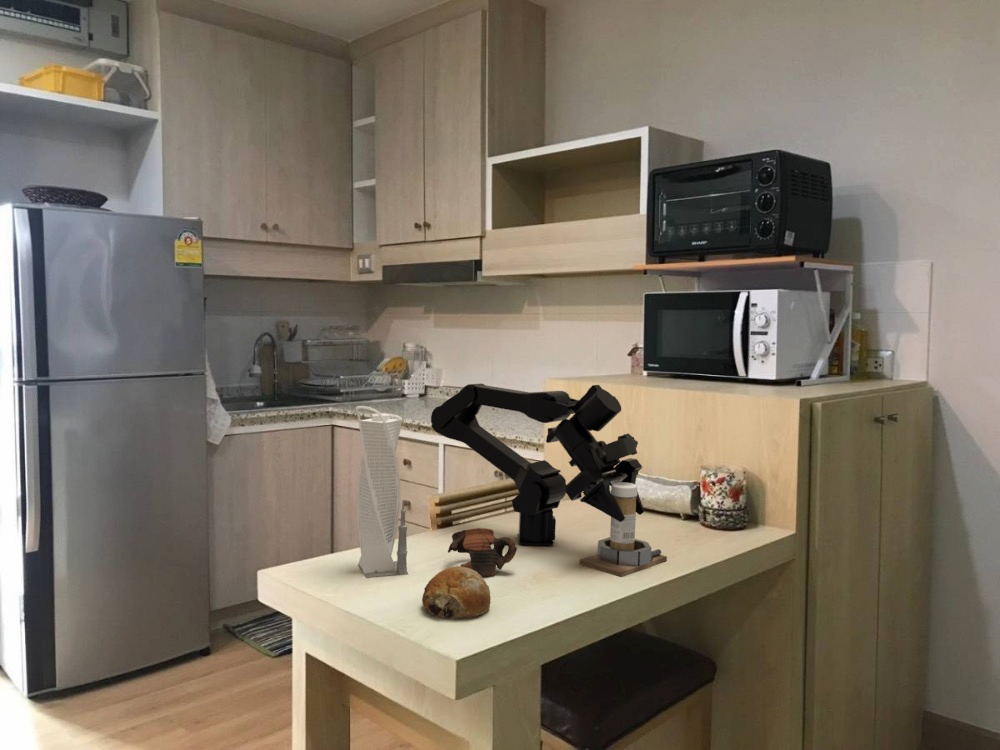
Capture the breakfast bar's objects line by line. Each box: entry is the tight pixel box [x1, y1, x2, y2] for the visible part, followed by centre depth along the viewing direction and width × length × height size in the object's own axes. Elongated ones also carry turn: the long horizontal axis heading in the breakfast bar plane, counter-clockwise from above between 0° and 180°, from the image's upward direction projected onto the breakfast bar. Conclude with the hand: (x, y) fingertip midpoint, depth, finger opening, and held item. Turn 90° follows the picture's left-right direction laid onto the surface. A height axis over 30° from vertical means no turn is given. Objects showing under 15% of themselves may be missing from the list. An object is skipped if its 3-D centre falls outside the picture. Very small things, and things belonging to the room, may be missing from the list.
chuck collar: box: [597, 536, 662, 566], centre depth 146 cm, size 11×9×2 cm
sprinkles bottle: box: [609, 482, 638, 550], centre depth 145 cm, size 5×5×14 cm
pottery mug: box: [447, 527, 518, 577], centre depth 139 cm, size 12×10×8 cm
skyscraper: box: [354, 405, 409, 579], centre depth 136 cm, size 8×8×28 cm
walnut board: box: [579, 553, 668, 577], centre depth 146 cm, size 14×9×1 cm, turn 136°
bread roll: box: [421, 565, 491, 620], centre depth 120 cm, size 10×10×8 cm
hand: (632, 516), depth 144 cm, fingers open, 7 cm apart
